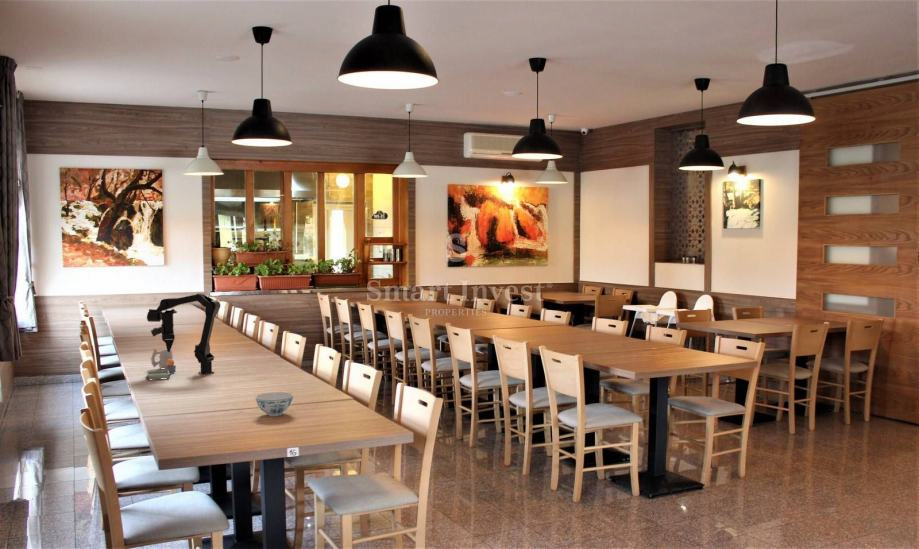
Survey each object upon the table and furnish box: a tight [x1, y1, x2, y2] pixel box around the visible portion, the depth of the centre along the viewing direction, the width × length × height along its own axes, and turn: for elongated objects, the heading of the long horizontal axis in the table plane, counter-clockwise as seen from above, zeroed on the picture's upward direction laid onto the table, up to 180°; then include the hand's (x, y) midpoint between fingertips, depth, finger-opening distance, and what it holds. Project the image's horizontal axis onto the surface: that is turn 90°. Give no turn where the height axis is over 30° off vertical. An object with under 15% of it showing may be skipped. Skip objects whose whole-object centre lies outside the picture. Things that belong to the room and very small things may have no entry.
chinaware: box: [255, 391, 294, 417], centre depth 320 cm, size 15×15×8 cm
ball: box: [166, 359, 175, 366], centre depth 421 cm, size 4×4×4 cm
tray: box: [146, 369, 171, 381], centre depth 408 cm, size 15×11×2 cm
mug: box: [150, 347, 174, 369], centre depth 435 cm, size 8×12×12 cm, turn 120°
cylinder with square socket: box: [164, 364, 177, 374], centre depth 421 cm, size 5×5×4 cm
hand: (168, 350), depth 421 cm, fingers open, 9 cm apart
